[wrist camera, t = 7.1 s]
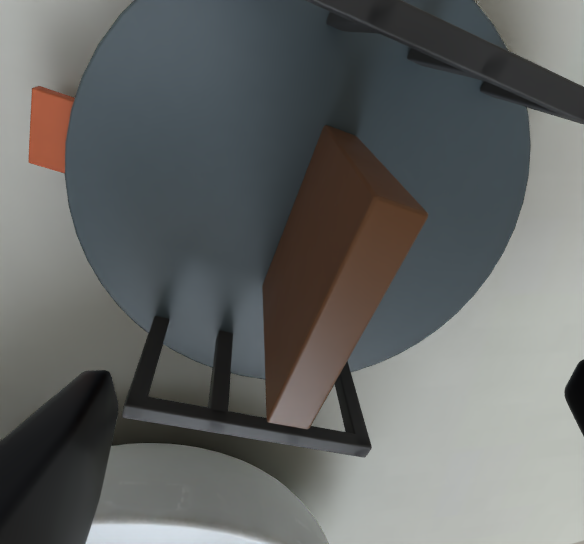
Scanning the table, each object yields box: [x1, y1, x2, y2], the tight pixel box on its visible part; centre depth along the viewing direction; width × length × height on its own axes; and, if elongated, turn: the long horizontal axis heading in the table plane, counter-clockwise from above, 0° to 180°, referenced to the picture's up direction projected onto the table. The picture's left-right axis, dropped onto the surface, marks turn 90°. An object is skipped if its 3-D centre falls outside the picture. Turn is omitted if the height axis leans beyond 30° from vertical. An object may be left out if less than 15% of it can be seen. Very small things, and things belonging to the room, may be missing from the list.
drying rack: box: [29, 0, 584, 457], centre depth 12 cm, size 17×16×7 cm
